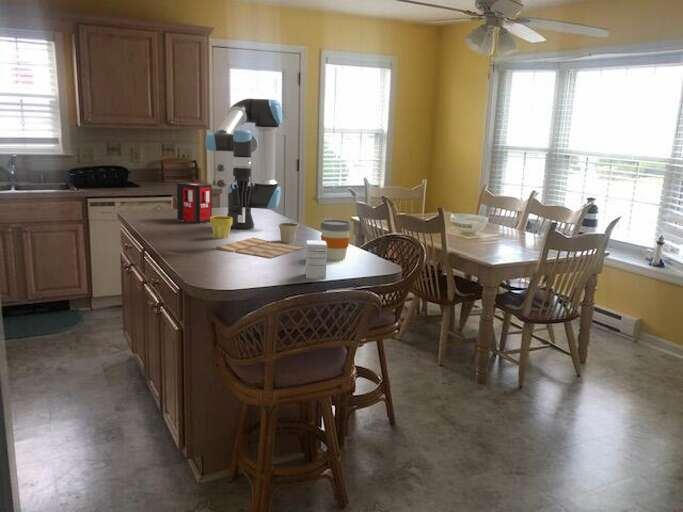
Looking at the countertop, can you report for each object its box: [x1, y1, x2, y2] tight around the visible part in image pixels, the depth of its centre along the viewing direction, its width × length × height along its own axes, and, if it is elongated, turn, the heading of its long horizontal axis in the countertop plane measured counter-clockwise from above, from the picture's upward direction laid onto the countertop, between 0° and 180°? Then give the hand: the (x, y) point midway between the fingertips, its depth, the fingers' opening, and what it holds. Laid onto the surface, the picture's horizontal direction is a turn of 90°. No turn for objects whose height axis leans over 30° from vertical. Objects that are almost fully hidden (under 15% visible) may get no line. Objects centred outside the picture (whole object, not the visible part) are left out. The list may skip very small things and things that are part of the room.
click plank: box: [215, 237, 271, 253], centre depth 258 cm, size 26×9×1 cm, turn 152°
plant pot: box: [209, 215, 233, 240], centre depth 275 cm, size 10×10×10 cm
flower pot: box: [277, 222, 300, 244], centre depth 272 cm, size 9×9×9 cm
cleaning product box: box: [176, 181, 213, 225], centre depth 317 cm, size 16×9×20 cm, turn 58°
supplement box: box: [305, 239, 328, 280], centre depth 214 cm, size 7×7×13 cm
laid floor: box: [234, 241, 306, 259], centre depth 252 cm, size 26×18×1 cm
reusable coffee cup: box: [320, 219, 352, 261], centre depth 244 cm, size 13×13×15 cm
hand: (241, 222), depth 256 cm, fingers closed
